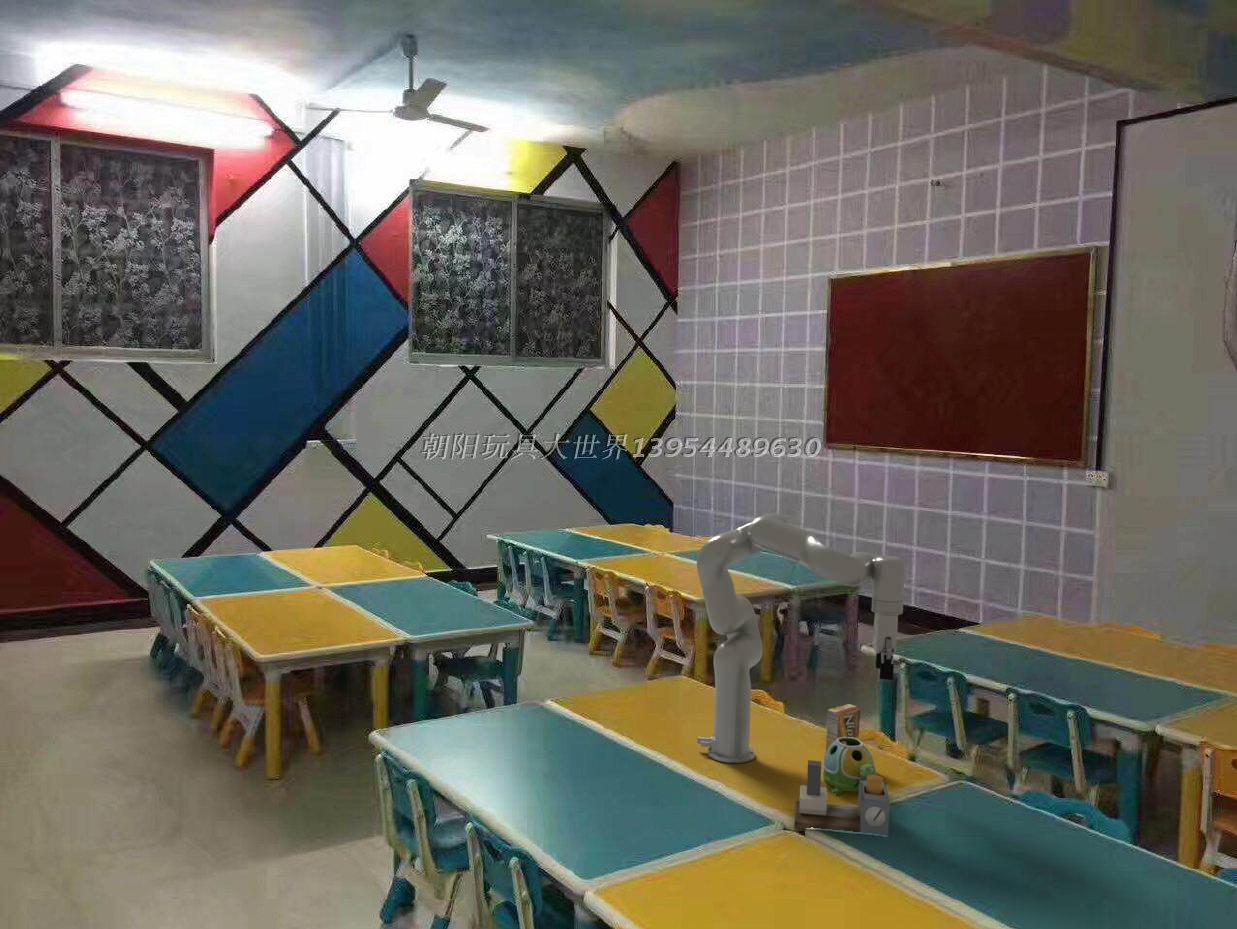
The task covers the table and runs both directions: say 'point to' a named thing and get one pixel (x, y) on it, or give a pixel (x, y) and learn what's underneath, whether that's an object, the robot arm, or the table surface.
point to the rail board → (830, 818)
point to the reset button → (874, 784)
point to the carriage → (813, 791)
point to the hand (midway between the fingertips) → (884, 673)
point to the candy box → (842, 723)
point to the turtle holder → (847, 765)
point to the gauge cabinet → (873, 810)
